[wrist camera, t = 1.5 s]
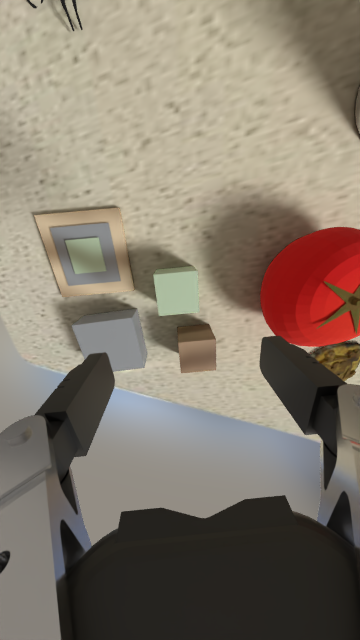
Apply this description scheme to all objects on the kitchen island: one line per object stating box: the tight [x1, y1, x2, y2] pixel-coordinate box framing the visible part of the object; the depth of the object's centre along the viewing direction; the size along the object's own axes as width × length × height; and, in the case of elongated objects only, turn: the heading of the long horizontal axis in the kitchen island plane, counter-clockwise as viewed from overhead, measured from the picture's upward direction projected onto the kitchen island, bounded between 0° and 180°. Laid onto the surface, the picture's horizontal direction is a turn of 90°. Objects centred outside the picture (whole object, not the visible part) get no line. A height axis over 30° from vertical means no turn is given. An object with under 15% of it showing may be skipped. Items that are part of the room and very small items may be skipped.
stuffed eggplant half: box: [311, 342, 360, 381], centre depth 31 cm, size 9×5×15 cm
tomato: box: [260, 227, 360, 347], centre depth 21 cm, size 14×13×10 cm
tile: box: [34, 208, 135, 297], centre depth 23 cm, size 10×10×1 cm
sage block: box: [153, 266, 199, 316], centre depth 24 cm, size 5×5×5 cm
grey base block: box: [72, 309, 147, 372], centre depth 27 cm, size 8×8×4 cm
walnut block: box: [177, 324, 216, 373], centre depth 27 cm, size 5×5×5 cm
